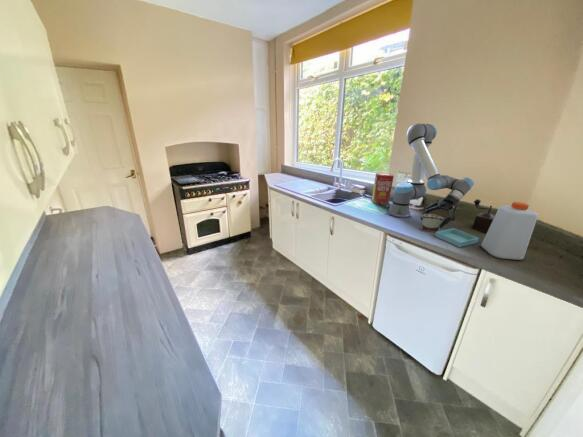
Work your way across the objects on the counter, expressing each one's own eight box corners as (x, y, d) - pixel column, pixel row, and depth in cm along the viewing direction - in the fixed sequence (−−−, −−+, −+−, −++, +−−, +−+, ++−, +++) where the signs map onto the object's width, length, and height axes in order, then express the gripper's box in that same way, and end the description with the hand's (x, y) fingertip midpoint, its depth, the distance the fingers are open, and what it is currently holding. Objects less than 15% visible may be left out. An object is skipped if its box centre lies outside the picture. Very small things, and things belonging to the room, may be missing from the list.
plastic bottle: (527, 262, 119) (551, 209, 108) (494, 258, 121) (514, 207, 110) (506, 247, 132) (526, 200, 122) (477, 245, 135) (494, 198, 124)
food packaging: (372, 203, 204) (377, 174, 195) (371, 200, 213) (375, 172, 203) (388, 204, 202) (394, 175, 193) (386, 201, 211) (391, 173, 202)
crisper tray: (434, 236, 144) (435, 231, 143) (452, 232, 151) (453, 228, 149) (459, 247, 132) (461, 242, 130) (477, 242, 138) (479, 238, 136)
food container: (437, 229, 155) (441, 214, 151) (440, 232, 149) (444, 218, 146) (417, 226, 158) (420, 212, 155) (418, 229, 153) (422, 215, 149)
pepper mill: (494, 229, 157) (504, 203, 150) (490, 233, 150) (500, 207, 143) (467, 222, 168) (475, 198, 161) (462, 226, 161) (470, 201, 154)
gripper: (474, 208, 142) (450, 234, 142) (436, 196, 163) (416, 219, 163) (471, 200, 138) (447, 227, 138) (433, 189, 159) (412, 212, 159)
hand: (430, 222), depth 151 cm, fingers open, 13 cm apart
